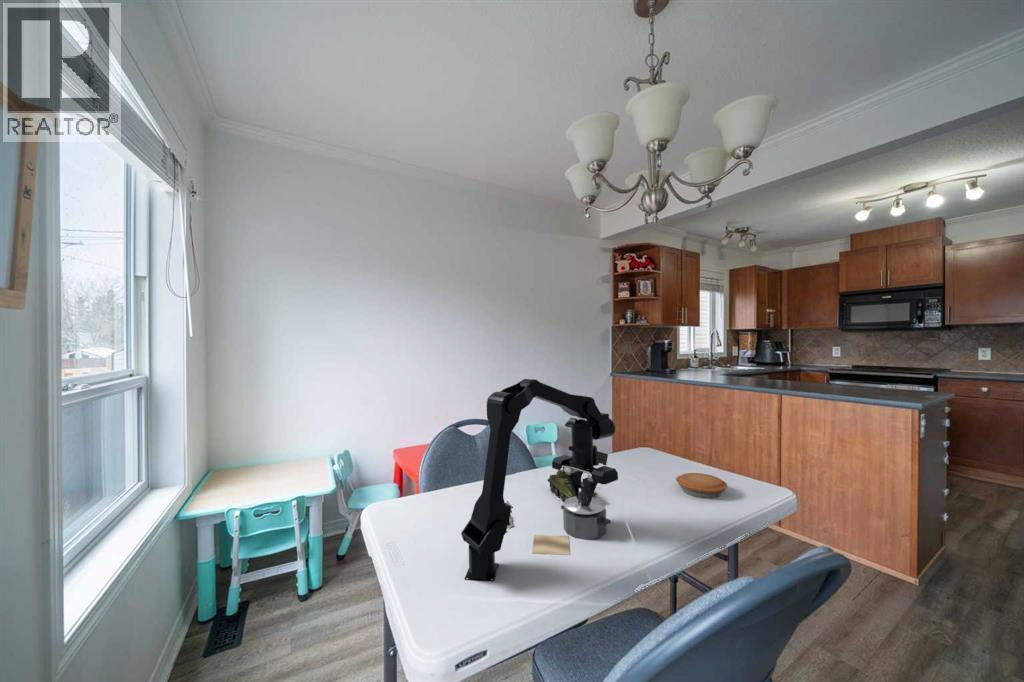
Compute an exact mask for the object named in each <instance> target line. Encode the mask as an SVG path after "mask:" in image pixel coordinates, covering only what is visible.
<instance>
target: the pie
mask: <svg viewBox="0 0 1024 682" xmlns="http://www.w3.org/2000/svg"><path fill="white" fill-rule="evenodd" d="M675 481H676V483H677V484H678V485H679V486H680V488H681V490H682V491H683V493H684V494H686V495H689V496H691V497H694V498H699V499H709V500H710V499H711V500H712V499H717V498H719V497H721V495H722V494H723V492H724V491H725V490H726V489H727V488H728V483H727V482H726V481H724V480H723V479H721V478H720V477H718V476H715V475H711V474H709V473H708V474H707V473H702V472H687V473H683V474H681V475H678V476H677V477H676V478H675Z"/></svg>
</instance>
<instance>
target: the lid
mask: <svg viewBox="0 0 1024 682" xmlns="http://www.w3.org/2000/svg"><path fill="white" fill-rule="evenodd" d="M563 505H564V507H565V508H566V509H567V510H568V511H570V512H572V513H575V514H578V515H582V516H590V515H594V514H598V513H601V512H602V511H604V509H606V505H605V502H604V501H602V499H599V498H596V497H595V498H593V497H592V500H591V502H590V503H587V500H586V496H585V491H584V486H583V485H579V486H578V499H577V497H576V496H575V497H571V498H568V499H566V500H565V501H564V502H563Z"/></svg>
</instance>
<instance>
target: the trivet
mask: <svg viewBox="0 0 1024 682" xmlns="http://www.w3.org/2000/svg"><path fill="white" fill-rule="evenodd" d="M570 548H571V547H570V535H556V534H555V535H553V534H552V535H551V534H550V535H549V534H534V535H533V543H532V549H531V550H532V551H531V555H535V554H536V555H556V556H557V555H558V556H559V555H560V556H571V549H570Z"/></svg>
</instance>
